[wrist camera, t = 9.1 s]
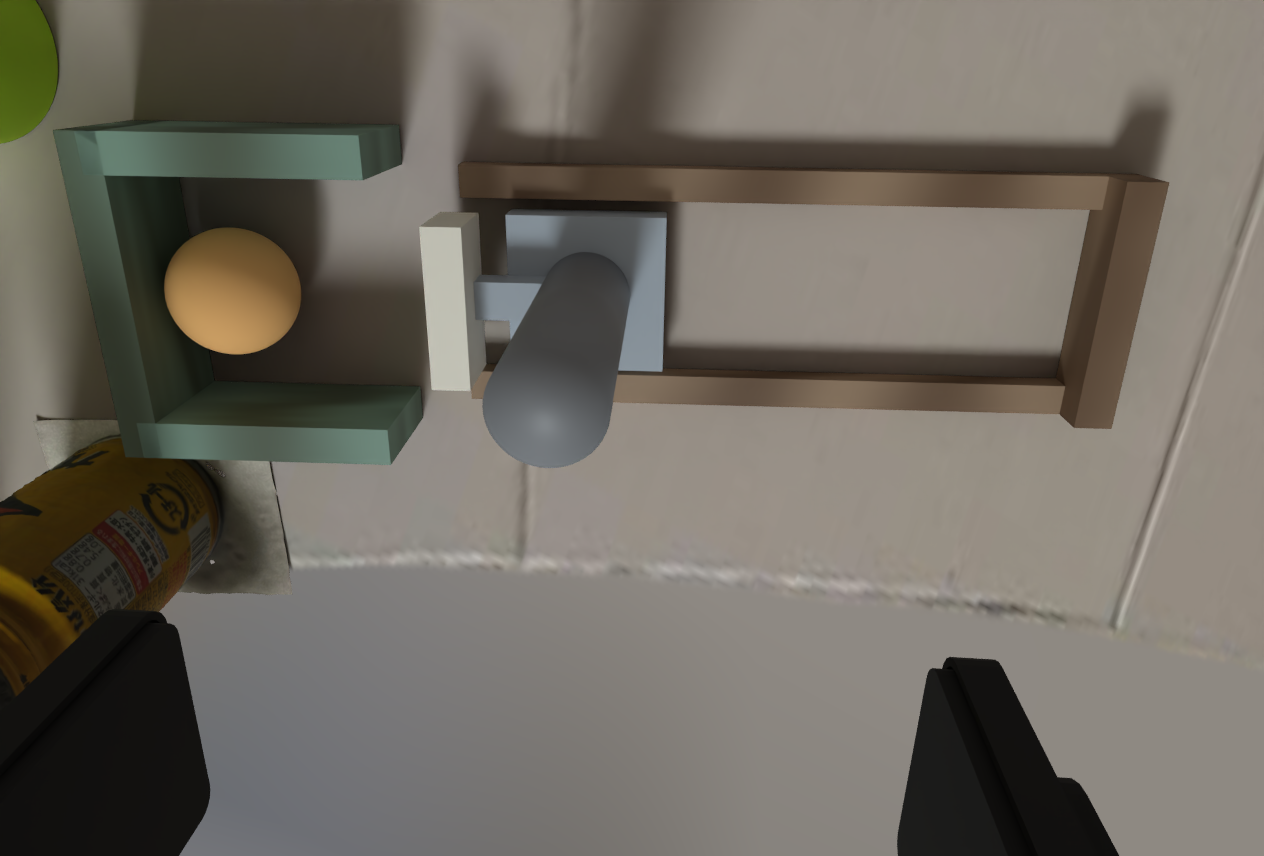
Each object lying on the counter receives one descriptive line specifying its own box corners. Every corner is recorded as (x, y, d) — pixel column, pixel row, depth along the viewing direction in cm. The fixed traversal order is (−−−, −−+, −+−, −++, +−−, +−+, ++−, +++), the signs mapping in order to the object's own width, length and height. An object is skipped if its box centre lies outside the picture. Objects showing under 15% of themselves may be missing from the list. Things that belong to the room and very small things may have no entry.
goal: (398, 124, 29) (358, 135, 25) (422, 417, 32) (390, 465, 29) (132, 120, 29) (52, 130, 25) (187, 411, 33) (125, 457, 29)
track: (1136, 174, 28) (1169, 182, 26) (1085, 406, 31) (1111, 428, 29) (463, 161, 29) (449, 169, 27) (476, 390, 32) (464, 411, 30)
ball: (298, 215, 30) (286, 238, 27) (312, 330, 32) (303, 366, 28) (168, 219, 29) (138, 242, 26) (189, 337, 31) (164, 375, 27)
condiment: (36, 419, 33) (-282, 602, 22) (263, 418, 33) (54, 604, 22) (87, 588, 36) (-174, 827, 25) (295, 589, 36) (126, 832, 24)
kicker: (666, 212, 29) (664, 300, 19) (662, 360, 31) (658, 514, 21) (447, 207, 29) (324, 292, 19) (456, 354, 31) (350, 505, 21)
